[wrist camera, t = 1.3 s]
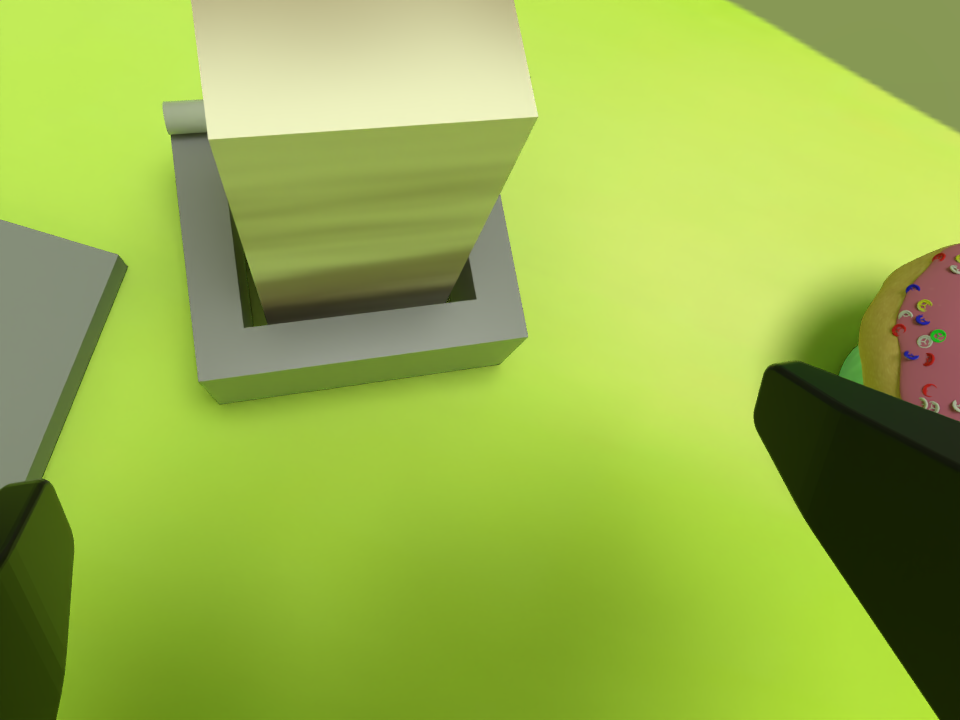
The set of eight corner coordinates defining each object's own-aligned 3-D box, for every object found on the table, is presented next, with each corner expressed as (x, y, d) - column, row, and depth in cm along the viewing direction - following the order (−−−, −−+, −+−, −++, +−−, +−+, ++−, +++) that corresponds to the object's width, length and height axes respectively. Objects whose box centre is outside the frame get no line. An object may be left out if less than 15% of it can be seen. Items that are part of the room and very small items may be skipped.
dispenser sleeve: (500, 364, 23) (536, 329, 19) (219, 404, 22) (192, 375, 18) (459, 146, 25) (484, 70, 21) (191, 167, 23) (160, 88, 19)
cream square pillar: (437, 319, 23) (538, 116, 12) (272, 339, 22) (208, 139, 11) (416, 199, 24) (492, -100, 13) (256, 214, 23) (178, -99, 12)
